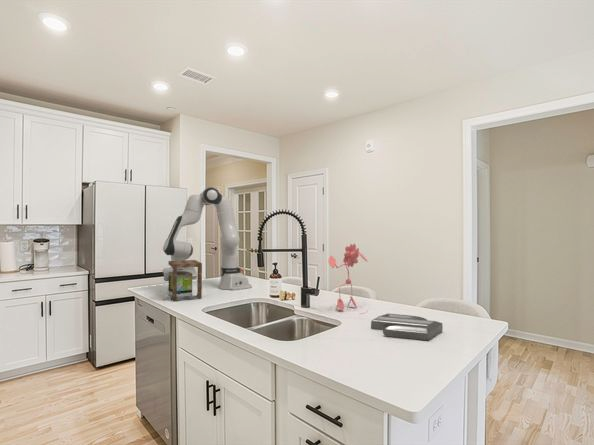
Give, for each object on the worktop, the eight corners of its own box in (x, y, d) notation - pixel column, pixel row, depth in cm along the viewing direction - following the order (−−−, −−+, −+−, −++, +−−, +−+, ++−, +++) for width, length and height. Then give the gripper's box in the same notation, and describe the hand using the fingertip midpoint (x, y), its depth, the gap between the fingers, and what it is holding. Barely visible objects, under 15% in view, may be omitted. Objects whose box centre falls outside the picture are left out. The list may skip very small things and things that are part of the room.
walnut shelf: (194, 292, 213) (194, 259, 213) (201, 298, 196) (201, 263, 196) (168, 294, 205) (168, 261, 206) (172, 301, 188) (173, 264, 188)
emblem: (415, 308, 159) (457, 326, 132) (415, 319, 159) (457, 339, 132) (361, 311, 152) (394, 331, 125) (361, 323, 152) (394, 345, 125)
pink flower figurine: (323, 311, 170) (325, 243, 170) (356, 304, 187) (358, 242, 186) (345, 318, 159) (347, 245, 158) (378, 310, 175) (380, 244, 175)
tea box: (192, 298, 197) (192, 273, 197) (175, 300, 191) (175, 274, 191) (184, 293, 209) (184, 270, 209) (167, 295, 203) (168, 271, 203)
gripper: (162, 265, 211) (164, 283, 202) (195, 263, 220) (198, 280, 212) (161, 271, 214) (163, 289, 206) (194, 269, 224) (197, 286, 216)
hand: (181, 284), depth 209 cm, fingers closed
